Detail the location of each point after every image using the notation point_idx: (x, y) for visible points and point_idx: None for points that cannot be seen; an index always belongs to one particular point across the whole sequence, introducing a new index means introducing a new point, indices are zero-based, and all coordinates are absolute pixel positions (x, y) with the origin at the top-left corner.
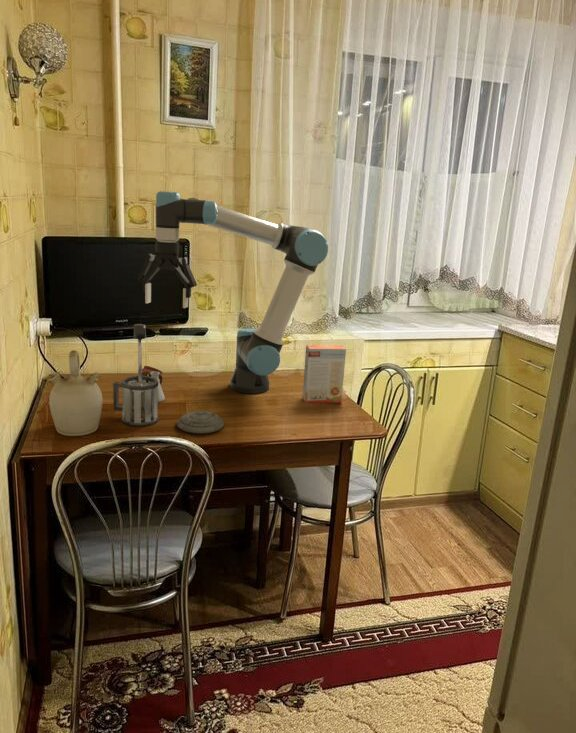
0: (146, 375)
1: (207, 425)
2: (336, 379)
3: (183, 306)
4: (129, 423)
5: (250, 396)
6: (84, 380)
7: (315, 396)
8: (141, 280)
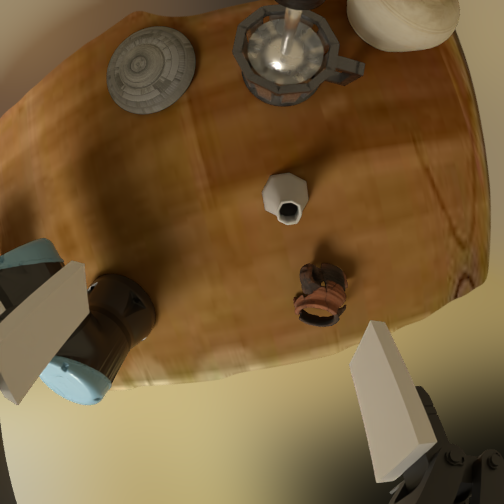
0: (326, 282)
1: (126, 41)
2: None
3: (74, 266)
4: None
5: (104, 260)
6: None
7: None
8: (469, 465)
